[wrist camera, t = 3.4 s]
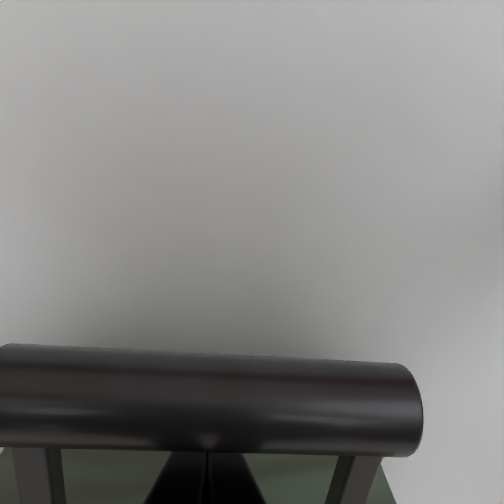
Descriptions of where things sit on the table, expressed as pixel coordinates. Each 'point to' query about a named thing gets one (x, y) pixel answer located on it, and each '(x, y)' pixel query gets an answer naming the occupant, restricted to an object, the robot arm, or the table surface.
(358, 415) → the drawer
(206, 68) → the table surface
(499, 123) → the table surface
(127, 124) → the table surface
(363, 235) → the table surface
